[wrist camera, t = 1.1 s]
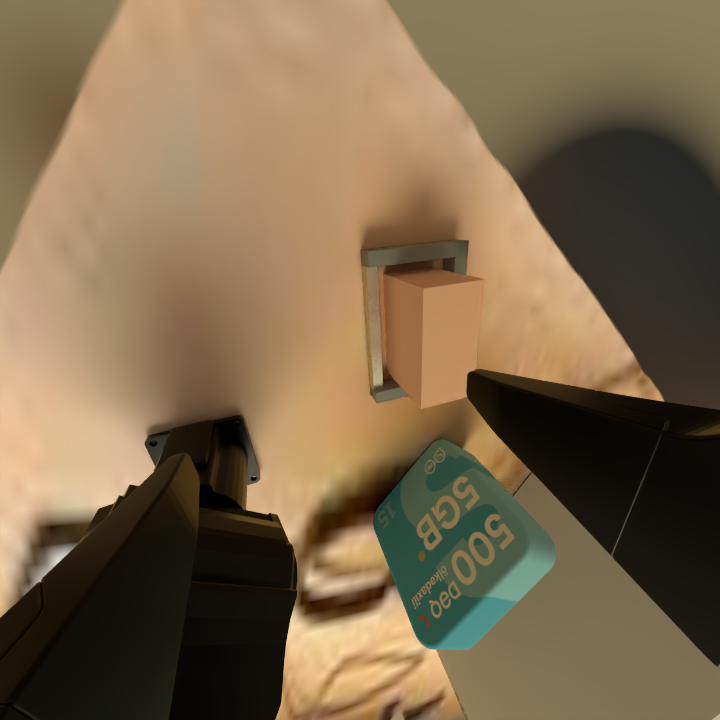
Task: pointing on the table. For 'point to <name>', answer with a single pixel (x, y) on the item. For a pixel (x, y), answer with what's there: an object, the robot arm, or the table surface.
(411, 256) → the grey rectangular frame
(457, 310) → the tall beige box
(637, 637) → the game console
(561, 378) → the table surface
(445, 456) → the data package
